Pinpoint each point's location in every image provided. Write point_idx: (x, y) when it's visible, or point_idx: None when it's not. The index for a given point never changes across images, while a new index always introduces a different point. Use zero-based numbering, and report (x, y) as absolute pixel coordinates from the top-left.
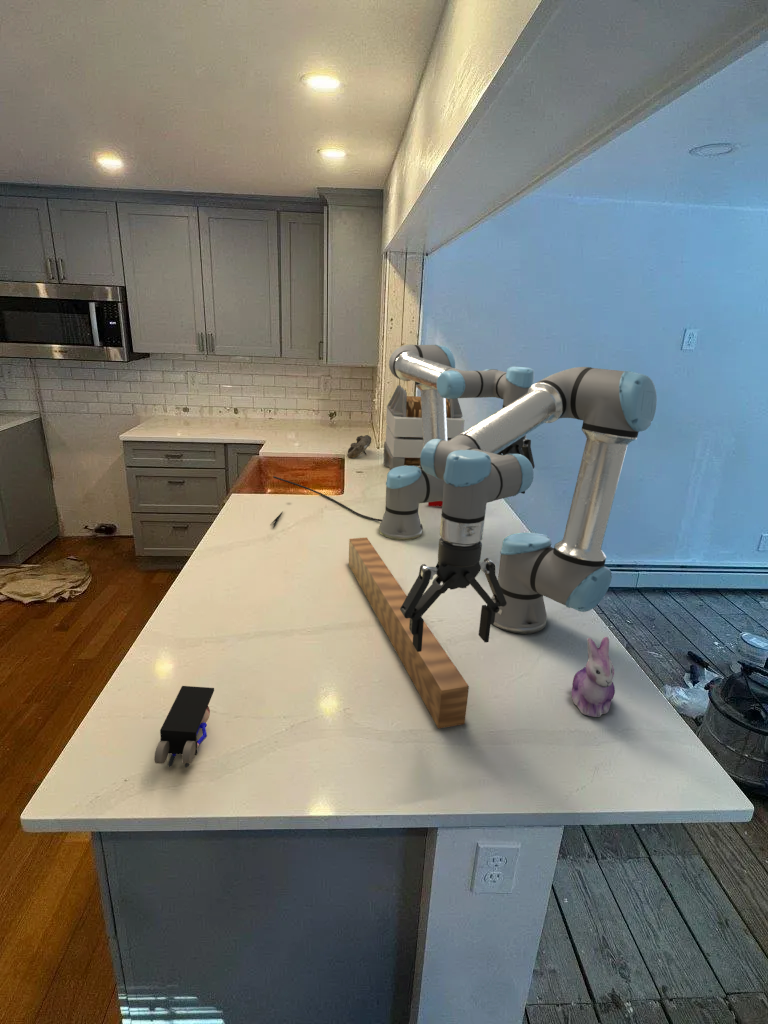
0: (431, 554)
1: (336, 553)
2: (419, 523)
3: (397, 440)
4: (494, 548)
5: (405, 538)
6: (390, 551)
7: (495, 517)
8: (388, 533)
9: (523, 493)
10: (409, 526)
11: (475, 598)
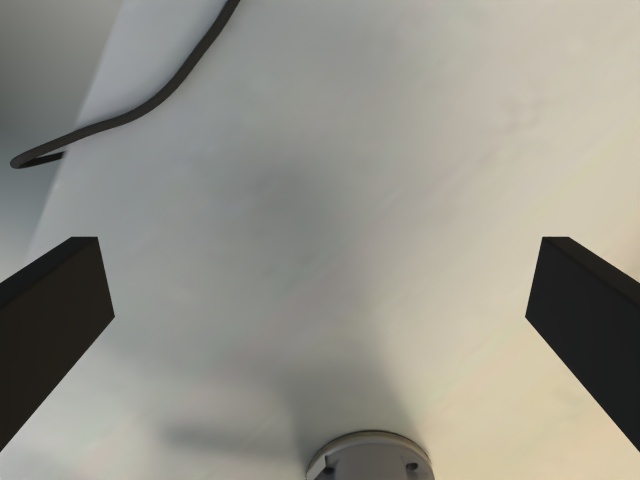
0: (405, 338)
1: (613, 452)
2: (342, 477)
3: None
4: (187, 277)
5: (400, 440)
6: (489, 403)
7: (15, 438)
8: (433, 476)
9: (91, 237)
10: (390, 473)
11: (551, 22)
